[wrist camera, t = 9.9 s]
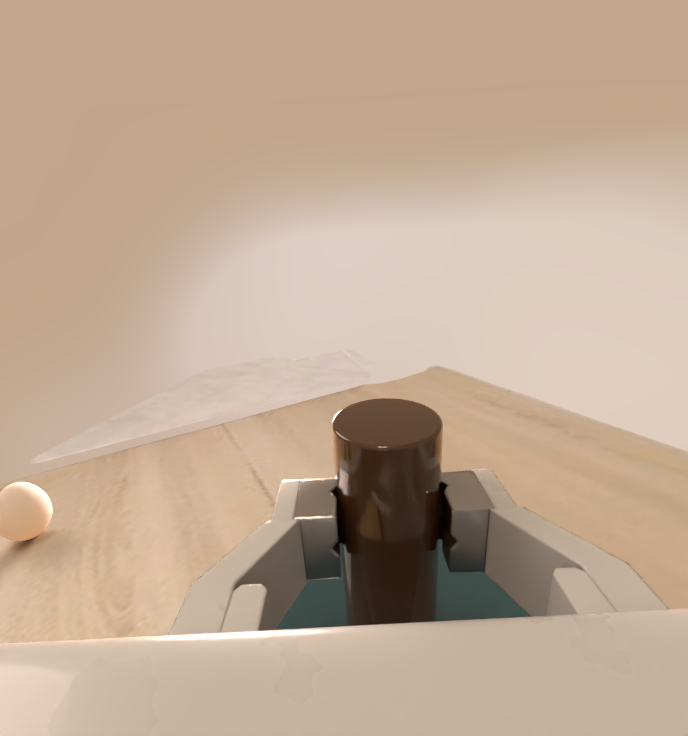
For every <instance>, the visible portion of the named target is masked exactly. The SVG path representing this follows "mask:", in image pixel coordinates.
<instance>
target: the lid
mask: <svg viewBox="0 0 688 736" xmlns="http://www.w3.org/2000/svg"><path fill="white" fill-rule="evenodd" d="M442 430H443V424H442V420H441V418H440V416H439V415H438V414H437V413H436V412H435V411H434V410H432V409H431V408H429V407H427V406H425V405H423V404H420V403H417V402H413V401H409V400H402V399H372V400H366V401H361V402H358V403H354V404H352V405H349V406H347V407H345V408H343V409H342V410H340V411H339V412H338V413H337V414H336V415H335V417H334V419H333V421H332V438H333V452H334V465H335V478H336V489H337V502H338V518H339V529H340V542H341V543H340V547H341V578H336V579H324V580H312V581H307V583H306V585H305V586H304V588H303V589H302V591H301V592H300V594H299V595H298V597H297V598H296V600H295V601H294V603H293V604H292V606H291V607H290V608H289V610H288V611H287V613H286V614H285V616H284V617H283V619H282V620H281V622H280V623H279V625H278V626H277V628H276V629H275V630H282V629H301V628H320V627H340V626H359V625H378V624H397V623H416V622H435V621H454V620H473V619H493V618H513V617H531V616H530V615H529V614H528V613H527V612H526V611H525V610H524V609H523V608H521V607H520V606H519V605H518V604H517V603H516V602H515V601H514V600H513V599H512V598H511V597H510V596H509V595H507V594H506V593H505V592H504V591H503V590H502V589H501V588H500V587H499V586H498V585H497V584H496V583H495V582H493V581H492V580H491V579H490V578H489V577H488V576H487V575H486V574H485V572H449V569H448V566H447V563H446V561H445V558H444V555H443V552H442V540H441V539H439V528H440V495H441V463H442Z"/></svg>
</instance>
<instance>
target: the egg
mask: <svg viewBox="0 0 688 736" xmlns="http://www.w3.org/2000/svg"><path fill="white" fill-rule="evenodd" d="M51 517H52V504H51V501H50V499H49V497H48V495H47V494H46V493H45V492H44V491H43V490H42V489H40V488H39V487H37V486H36V485H34V484H31V483H27V482H16V483H13V484H10V485H8V486H7V487H5V488H4V489H3V490H2V491H1V492H0V534H1V535H2V536H3V537H5V538H7V539H10V540H14V541H25V540H29V539H32V538H34V537H36V536H38V535H39V534H40V533H42V532H43V531H44V530H45V528H46V527H47V525H48V524H49V522H50V519H51Z"/></svg>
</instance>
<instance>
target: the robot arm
mask: <svg viewBox="0 0 688 736" xmlns="http://www.w3.org/2000/svg"><path fill="white" fill-rule="evenodd" d="M439 539H441V540H442V552H443V555H444V558H445V561H446V563H447V566H448V569H449V572H485V574H486V575H487V576H488V577H489V578H490V579H491V580H492V581H493V582H495V583H496V584H497V585H498V586H499V587H500V588H501V589H502V590H503V591H504V592H505V593H506V594H507V595H509V596H510V597H511V598H512V599H513V600H514V601H515V602H516V603H517V604H518V605H519V606H520V607H521V608H523V609H524V610H525V611H526V612H527V613H528V614H529V615H530V616H531V617H513V618H493V619H473V620H454V621H435V622H416V623H397V624H378V625H359V626H340V627H320V628H301V629H282V630H275V629H276V628H277V626H278V625H279V623H280V622H281V620H282V619H283V617H284V616H285V614H286V613H287V611H288V610H289V608H290V607H291V606H292V604H293V603H294V601H295V600H296V598H297V597H298V595H299V594H300V592H301V591H302V589H303V588H304V586H305V585H306V583H307V581H312V580H324V579H336V578H341V547H340V543H341V542H340V529H339V518H338V502H337V489H336V478H317V479H301V480H300V479H292V480H283V481H282V482H281V483H280V487H279V491H278V495H277V499H276V502H275V506H274V510H273V514H272V518H271V521H265V522H264V523H263V524H262V525H260V526H259V527H258V528H257V529H256V530H255V531H253V532H252V533H251V534H250V535H249V536H248V537H246V538H245V539H244V540H243V541H242V542H241V543H239V544H238V545H237V546H236V547H235V548H234V549H232V550H231V551H230V552H229V553H228V554H227V555H225V556H224V557H223V558H222V559H221V560H220V561H219V562H217V563H216V564H215V565H214V566H213V567H212V568H210V569H209V570H208V571H207V572H206V573H205V574H203V575H202V576H201V577H200V578H199V579H198V580H196V581H195V582H194V583H193V584H192V585H191V586H190V588H189V590H188V592H187V594H186V596H185V599H184V601H183V603H182V605H181V608H180V610H179V612H178V614H177V617H176V619H175V621H174V623H173V625H172V628H171V630H170V632H169V634H168V635H165V636H146V637H127V638H107V639H87V640H68V641H48V642H28V643H8V644H0V736H688V608H687V609H670V608H669V607H668V606H667V605H666V604H665V603H664V602H663V601H662V600H661V599H660V597H659V596H658V595H657V594H656V593H655V592H654V591H653V590H652V589H651V588H650V587H649V585H648V584H647V583H646V582H645V581H644V580H643V579H642V578H641V577H640V576H639V574H638V573H637V572H636V571H635V570H634V569H633V568H632V567H631V566H630V565H629V563H627V562H625V561H623V560H621V559H619V558H617V557H616V556H614V555H612V554H610V553H608V552H606V551H604V550H603V549H601V548H599V547H597V546H595V545H593V544H591V543H590V542H588V541H586V540H584V539H582V538H580V537H578V536H577V535H575V534H573V533H571V532H569V531H567V530H565V529H564V528H562V527H560V526H558V525H556V524H554V523H552V522H550V521H549V520H547V519H545V518H543V517H541V516H539V515H537V514H536V513H534V512H532V511H530V510H528V509H526V508H524V507H523V508H518V506H517V505H516V503H515V502H514V501H513V499H512V498H511V496H510V495H509V493H508V492H507V491H506V489H505V488H504V486H503V485H502V483H501V482H500V481H499V479H498V478H497V476H496V475H495V473H494V472H493V471H492V470H491V469H489V468H488V469H477V470H470V471H456V472H441V495H440V528H439Z"/></svg>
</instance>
